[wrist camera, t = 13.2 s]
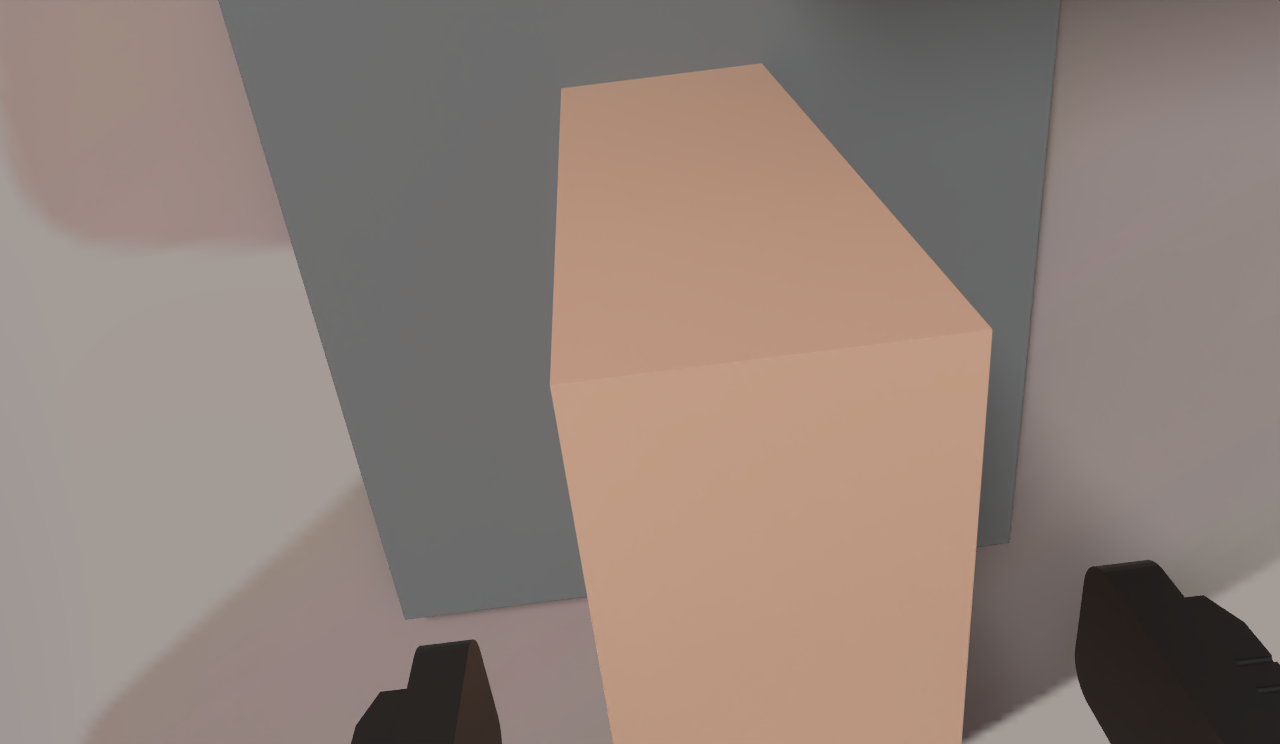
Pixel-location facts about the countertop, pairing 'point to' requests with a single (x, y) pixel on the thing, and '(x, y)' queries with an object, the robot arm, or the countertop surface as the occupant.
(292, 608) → the countertop surface
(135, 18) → the countertop surface
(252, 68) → the mat
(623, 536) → the salmon pink block
